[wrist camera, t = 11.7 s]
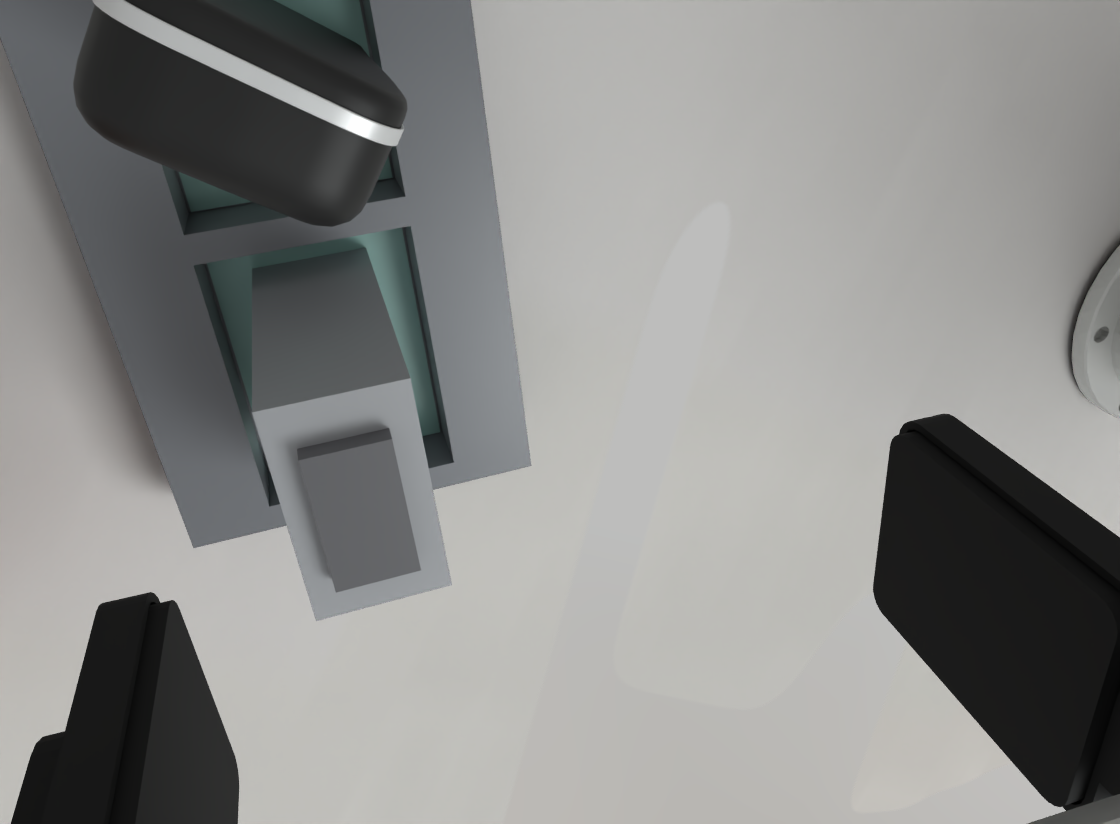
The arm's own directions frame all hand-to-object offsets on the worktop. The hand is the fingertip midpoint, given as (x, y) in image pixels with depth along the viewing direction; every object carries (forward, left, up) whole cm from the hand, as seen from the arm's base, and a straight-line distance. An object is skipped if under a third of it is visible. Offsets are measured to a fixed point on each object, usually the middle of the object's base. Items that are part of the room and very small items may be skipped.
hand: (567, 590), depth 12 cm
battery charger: (+3, -4, -24) cm, 24 cm away
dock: (+3, +1, -24) cm, 25 cm away
